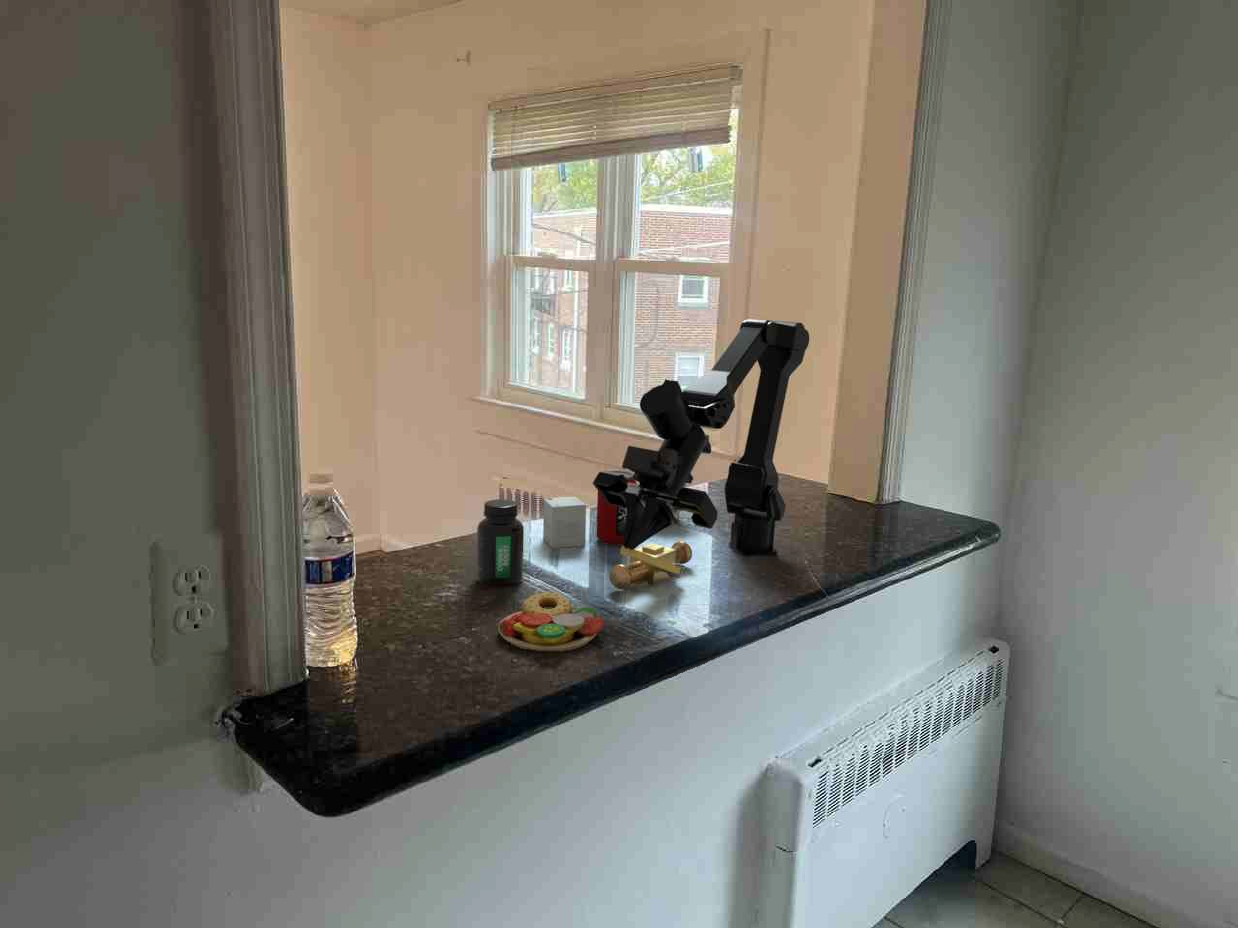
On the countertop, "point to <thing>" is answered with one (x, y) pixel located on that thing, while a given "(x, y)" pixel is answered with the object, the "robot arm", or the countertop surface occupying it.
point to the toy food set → (550, 624)
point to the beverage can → (612, 518)
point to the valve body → (649, 566)
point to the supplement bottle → (500, 545)
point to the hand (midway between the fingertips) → (626, 547)
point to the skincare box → (564, 522)
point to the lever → (654, 562)
